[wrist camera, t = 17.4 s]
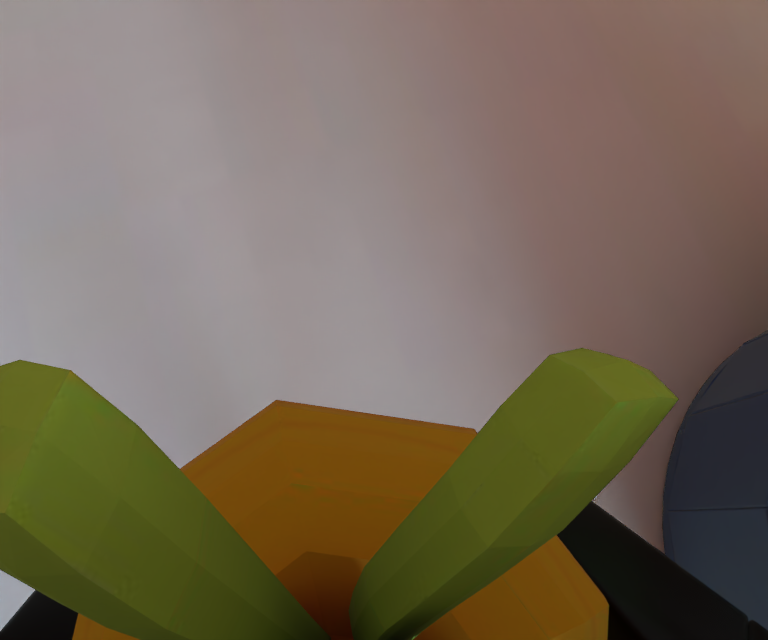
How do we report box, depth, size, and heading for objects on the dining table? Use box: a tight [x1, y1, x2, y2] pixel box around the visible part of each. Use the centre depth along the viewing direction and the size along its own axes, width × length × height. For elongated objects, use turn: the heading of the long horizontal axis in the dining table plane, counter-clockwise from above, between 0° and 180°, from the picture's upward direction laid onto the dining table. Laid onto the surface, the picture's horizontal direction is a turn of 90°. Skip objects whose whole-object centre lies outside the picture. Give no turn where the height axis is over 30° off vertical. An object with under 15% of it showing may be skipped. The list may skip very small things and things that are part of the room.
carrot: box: [0, 348, 678, 640], centre depth 9 cm, size 5×5×15 cm
